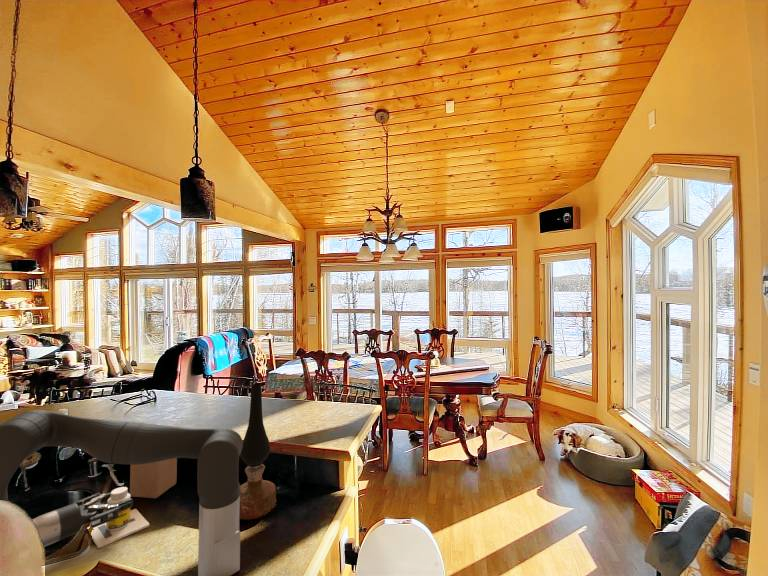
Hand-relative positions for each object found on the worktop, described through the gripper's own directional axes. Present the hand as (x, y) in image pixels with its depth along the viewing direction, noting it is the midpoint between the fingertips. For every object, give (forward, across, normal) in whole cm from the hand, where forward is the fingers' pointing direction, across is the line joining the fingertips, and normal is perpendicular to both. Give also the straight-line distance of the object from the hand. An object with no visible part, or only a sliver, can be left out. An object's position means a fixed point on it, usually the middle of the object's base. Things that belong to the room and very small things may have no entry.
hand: (126, 497), depth 105 cm
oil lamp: (+27, -24, +8) cm, 37 cm away
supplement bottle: (-2, 0, +8) cm, 8 cm away
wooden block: (+13, +14, +8) cm, 21 cm away
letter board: (-2, 0, +8) cm, 8 cm away
